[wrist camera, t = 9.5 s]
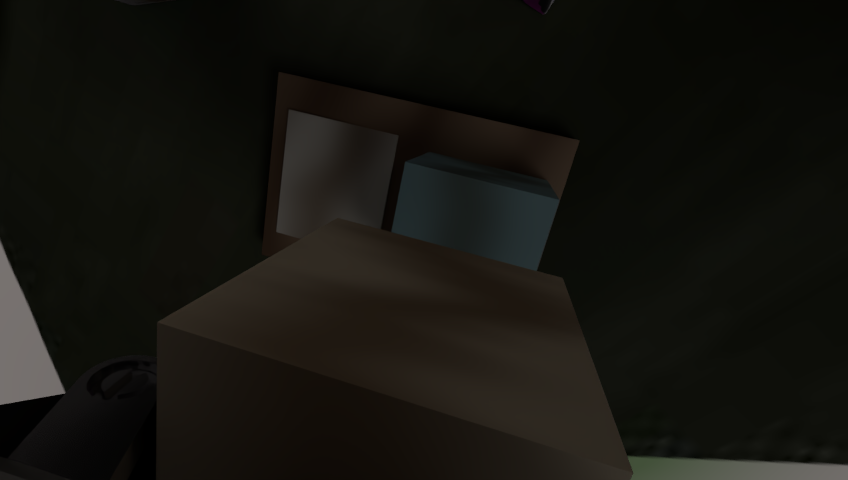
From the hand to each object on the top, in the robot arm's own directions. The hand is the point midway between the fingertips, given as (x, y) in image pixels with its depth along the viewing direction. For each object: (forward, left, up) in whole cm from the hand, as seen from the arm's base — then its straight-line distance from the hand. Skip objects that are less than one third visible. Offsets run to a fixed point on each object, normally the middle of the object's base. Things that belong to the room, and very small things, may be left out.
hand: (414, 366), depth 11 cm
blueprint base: (+4, 0, -17) cm, 17 cm away
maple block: (0, 0, -1) cm, 1 cm away
